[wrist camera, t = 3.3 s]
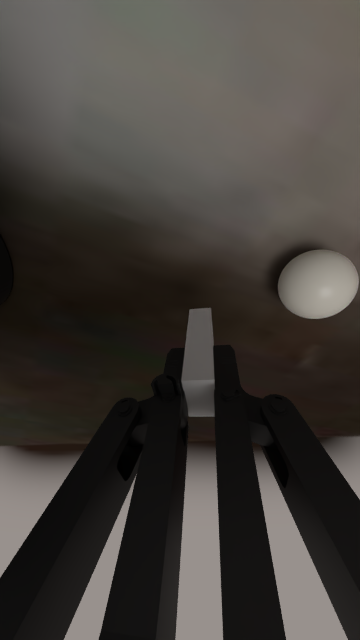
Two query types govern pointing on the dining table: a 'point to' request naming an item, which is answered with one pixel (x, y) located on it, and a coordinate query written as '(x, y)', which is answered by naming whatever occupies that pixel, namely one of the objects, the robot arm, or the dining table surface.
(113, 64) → the dining table surface
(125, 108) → the dining table surface
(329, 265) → the ivory ball
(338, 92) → the dining table surface
